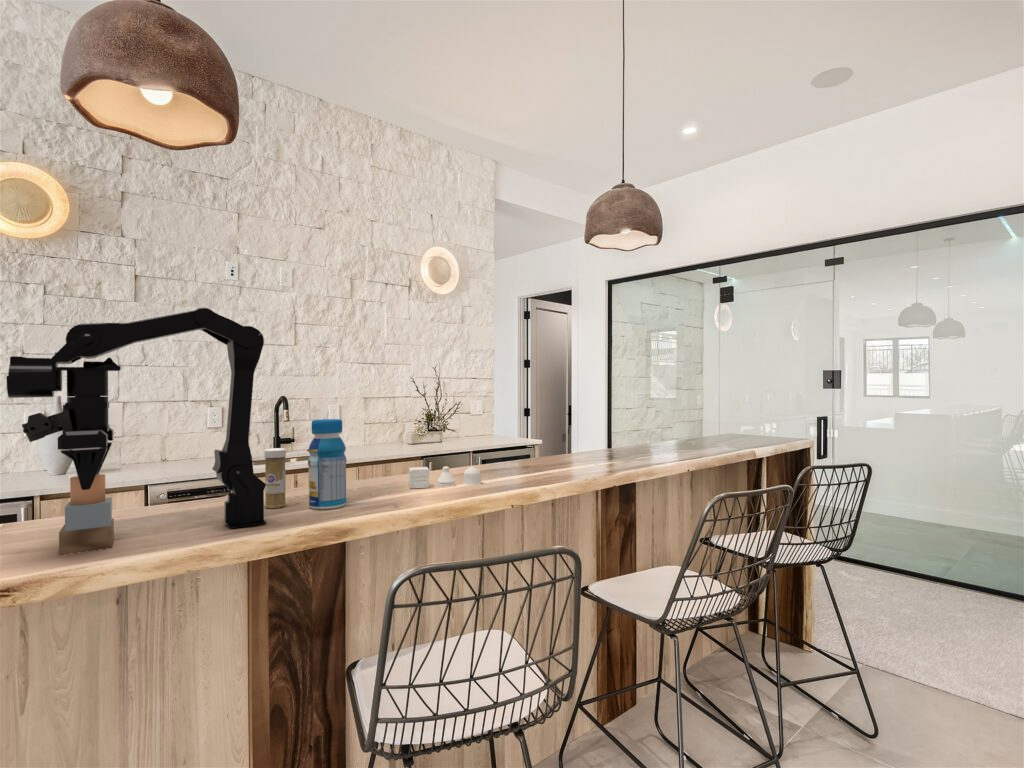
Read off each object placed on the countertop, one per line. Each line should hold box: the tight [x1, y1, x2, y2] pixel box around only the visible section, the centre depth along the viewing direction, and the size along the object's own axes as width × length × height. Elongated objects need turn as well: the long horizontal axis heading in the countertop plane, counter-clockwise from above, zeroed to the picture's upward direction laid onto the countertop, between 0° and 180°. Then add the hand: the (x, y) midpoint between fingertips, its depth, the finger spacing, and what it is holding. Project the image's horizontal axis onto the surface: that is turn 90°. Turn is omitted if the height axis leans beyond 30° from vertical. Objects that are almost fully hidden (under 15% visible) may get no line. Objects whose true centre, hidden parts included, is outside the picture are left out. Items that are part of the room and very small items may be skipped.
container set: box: [408, 465, 482, 490], centre depth 151 cm, size 20×5×6 cm, turn 106°
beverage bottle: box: [307, 418, 348, 511], centre depth 125 cm, size 8×8×20 cm
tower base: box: [58, 518, 115, 556], centre depth 94 cm, size 7×7×4 cm
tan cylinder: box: [69, 473, 106, 505], centre depth 94 cm, size 5×5×4 cm
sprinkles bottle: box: [264, 447, 287, 509], centre depth 126 cm, size 5×5×13 cm
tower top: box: [64, 497, 113, 532], centre depth 94 cm, size 6×6×4 cm
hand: (88, 486), depth 95 cm, fingers open, 8 cm apart
